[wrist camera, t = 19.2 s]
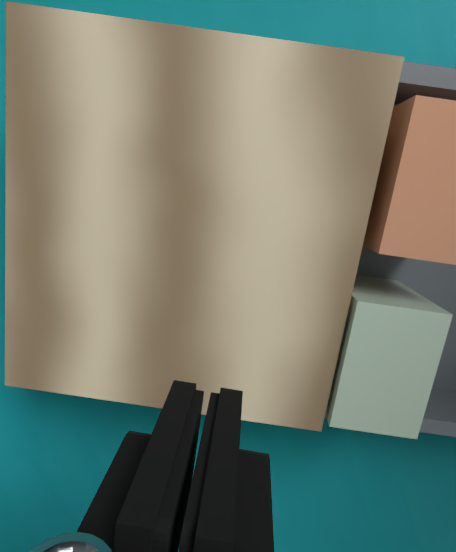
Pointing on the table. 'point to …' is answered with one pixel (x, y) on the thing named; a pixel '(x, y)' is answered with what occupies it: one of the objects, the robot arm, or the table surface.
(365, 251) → the box
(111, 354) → the striped wooden block
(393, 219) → the salmon rectangular block
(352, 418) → the pale green block
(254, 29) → the table surface
